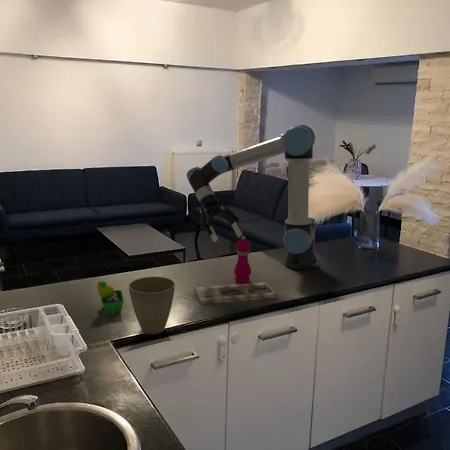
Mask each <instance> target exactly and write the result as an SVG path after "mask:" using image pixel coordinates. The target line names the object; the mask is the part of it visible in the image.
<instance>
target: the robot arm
mask: <svg viewBox="0 0 450 450" xmlns="http://www.w3.org/2000/svg"><path fill="white" fill-rule="evenodd" d="M315 141H316V136H315V132H314V131H313V129H312V128H311V127H309V126H308V125H306V124H305V125H304V124H300V125H293V126H292V127H289V129H287V130H286V132H283V133H281V136H279V137H275V138H272V139H269V140H266V141H264V142H261V143H257V144H255V145H251V146H248V147H246V148H243V149H239V150H238V151H235V152H231V153H228V154H225V155H222V154H217V155H216V156H214V157H212V158H211V160H209V161H208V162H207V163H206V164H205V165H203V166H202V167H199V166H193V167H192V168H190V169H189V170H188V171H187V172H186V178H187V181H188V183H189V185H190V187H191V188H192V190H193V192H194V194H195V196H196V198H197V200H198V201H199V203H200V205H201V208H200V209H198V213H199V220H200V222H199V223H200V225H199V226H200V229H201V230H204V231H206V232H207V234H208V236H210V237H211V240H212V242H213V243H216V242H217V241H218V240H219V238H218V235H217V234H216V232H215V230H214V228H213V227H212V225H211V221H212V218H215V217H219V218H223V219H224V220H225V221H227V222H228V223H230V224H231V227H232V229H233V231H234V233H235V235H236V237H237V238H240V237H242V236H243V232H242V230H241V229H240V228H241V227H240V225H239V223H238V222H239V221H240V218H239V217H238V216H237V215H236V214H235V213H234V212H233V211H232V210H230V209H229V207H228V206H227V205H226V204H225V203H223V204H222V205H220V203H219V200H218V197H217V196H216V195H215V192H214V190H213V189H212V187H211V185H210V183H211V182H212V181H214V180H215V179H216V178H218V177H219V176H221V175H223V174H226V173H228V172H231V171H233V170H234V171H235V170H237V169H240V168H244V167H245V166H250V165H252V164H256V163H258V162H262V161H264V160H267V159H270V158H274V157H277V156H280V155H282V154H284V160H285V161H287V163H288V166H287V167H288V169H287V170H288V171H287V172H288V179H287V180H288V182H287V183H288V184H287V185H288V187H287V188H288V190H287V192H288V198H287V199H288V200H287V201H288V202H287V203H288V204H287V205H288V211H287V212H288V213H287V215H288V217H287V218H286V219H285V221H284V234H283V237H282V241H283V246H284V248H285V249H286V251H287V252H286V255H285V258H284V266H285V267H287V268H289V269H293V270H299V271H300V270H301V271H307V270H308V271H309V270H313V269H316V268H317V266H318V260H317V256H316V252H315V240H316V239H315V238H316V235H315V234H316V226H317V223H316V218H314V217H309V197H310V196H309V194H310V193H309V191H310V190H309V189H310V187H309V184H310V183H309V180H310V179H309V178H310V176H309V175H310V174H309V173H310V162H311V160H312V159H313V158H314V157H313V155H314V154H313V150H314V149H313V147H314V144H315ZM206 214H207V215H206Z"/></svg>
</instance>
